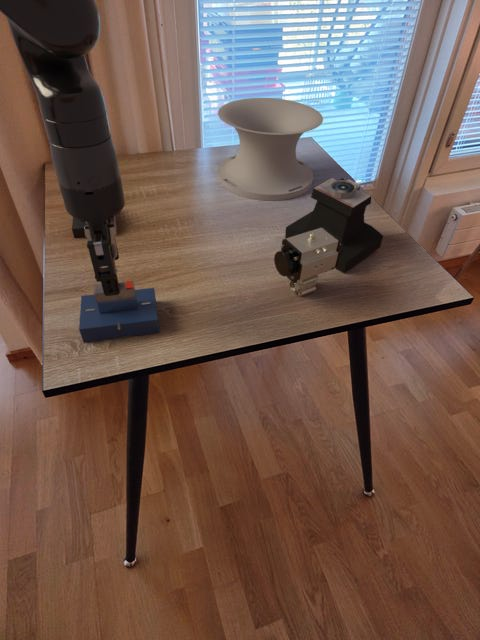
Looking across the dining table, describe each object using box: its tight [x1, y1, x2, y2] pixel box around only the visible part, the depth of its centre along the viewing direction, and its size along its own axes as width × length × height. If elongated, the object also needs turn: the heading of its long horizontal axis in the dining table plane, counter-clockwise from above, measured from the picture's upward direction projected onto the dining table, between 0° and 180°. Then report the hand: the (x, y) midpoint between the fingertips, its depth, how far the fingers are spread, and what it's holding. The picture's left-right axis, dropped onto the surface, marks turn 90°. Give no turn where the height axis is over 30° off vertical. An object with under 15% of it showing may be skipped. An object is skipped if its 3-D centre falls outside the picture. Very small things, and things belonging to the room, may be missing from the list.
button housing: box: [71, 216, 87, 239], centre depth 89 cm, size 8×10×4 cm
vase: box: [217, 97, 324, 202], centre depth 104 cm, size 25×25×16 cm
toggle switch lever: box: [93, 280, 138, 313], centre depth 66 cm, size 6×2×4 cm, turn 103°
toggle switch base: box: [78, 287, 161, 343], centre depth 69 cm, size 12×10×3 cm
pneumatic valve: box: [273, 227, 343, 297], centre depth 73 cm, size 6×12×12 cm, turn 120°
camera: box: [284, 177, 384, 274], centre depth 84 cm, size 16×14×15 cm
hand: (112, 275), depth 63 cm, fingers open, 8 cm apart
